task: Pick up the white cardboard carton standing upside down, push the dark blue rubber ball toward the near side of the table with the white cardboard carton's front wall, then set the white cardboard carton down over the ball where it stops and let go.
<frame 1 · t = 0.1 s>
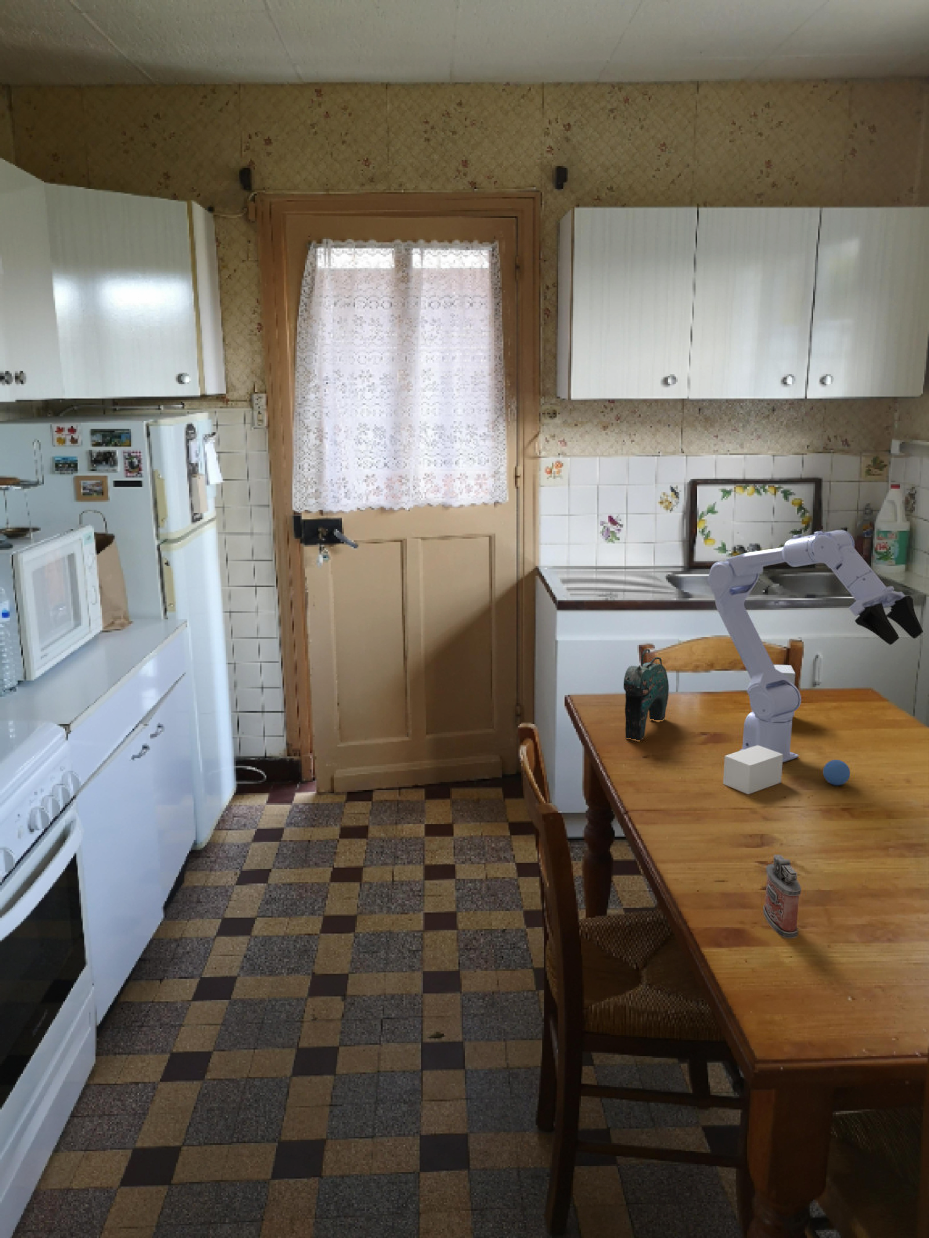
hand: (906, 638, 174), 32 cm above the table, tool tilted 50°, fingers open, 7 cm apart
white cardboard carton: (752, 783, 190), on the table
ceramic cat: (644, 730, 221), on the table
lighter: (779, 924, 141), on the table
ball: (836, 772, 189), on the table
supplement box: (773, 719, 227), on the table
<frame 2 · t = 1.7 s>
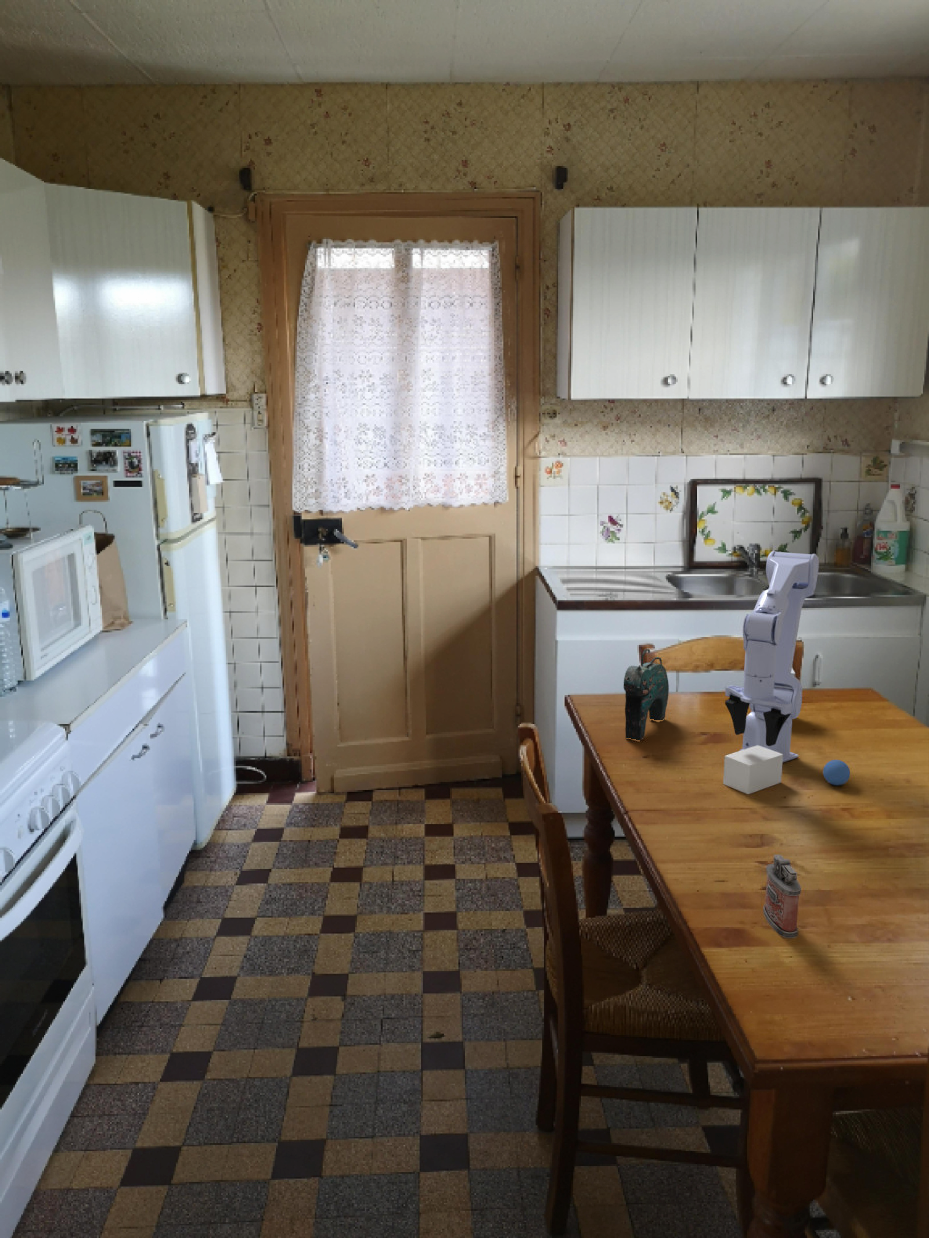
hand: (755, 739, 188), 9 cm above the table, tool pointing down, fingers open, 7 cm apart
nothing on the table moved.
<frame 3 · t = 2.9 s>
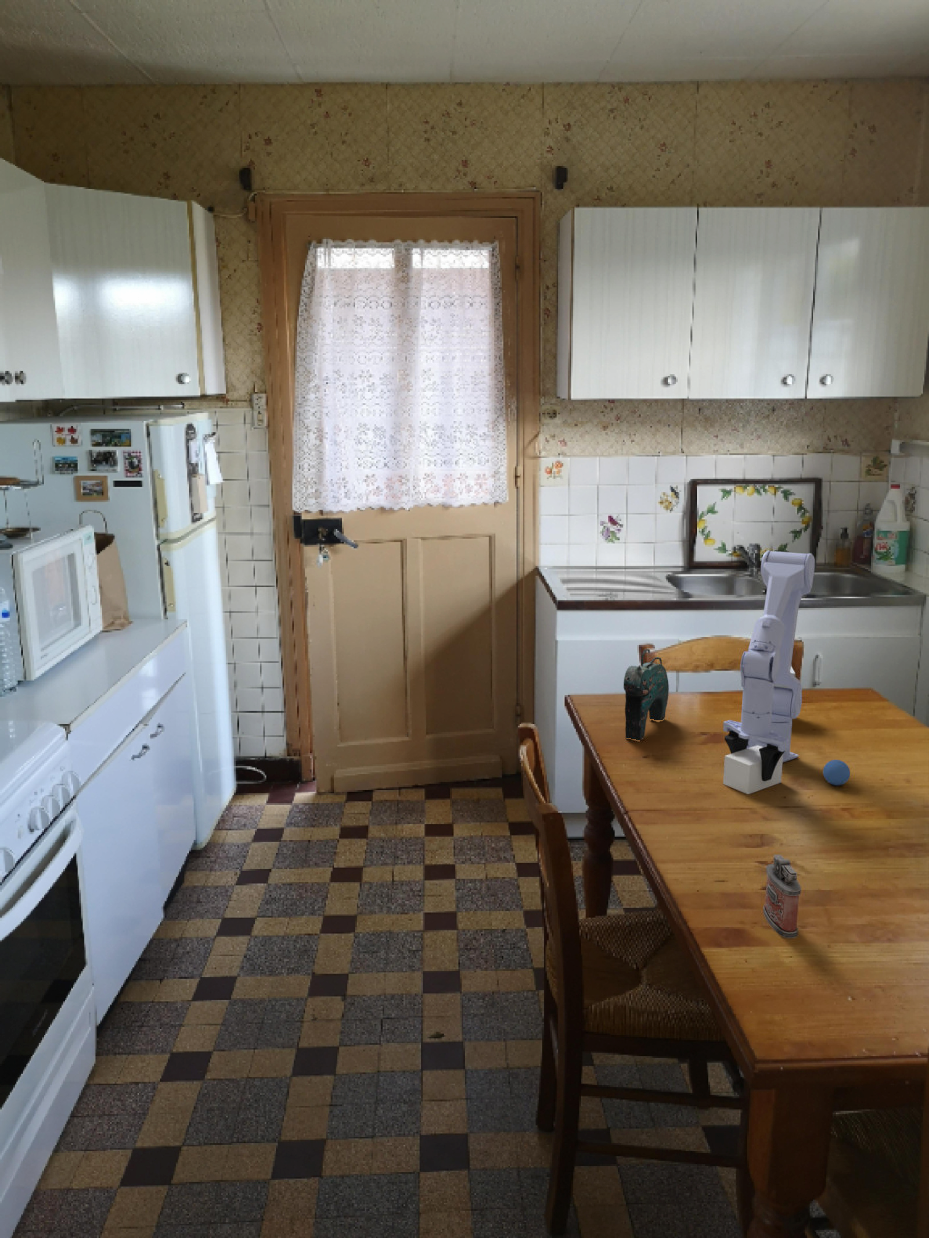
hand: (752, 774, 190), 2 cm above the table, tool pointing down, fingers closed on white cardboard carton, 6 cm apart
white cardboard carton: (752, 783, 190), on the table, touching gripper
everything else where it was.
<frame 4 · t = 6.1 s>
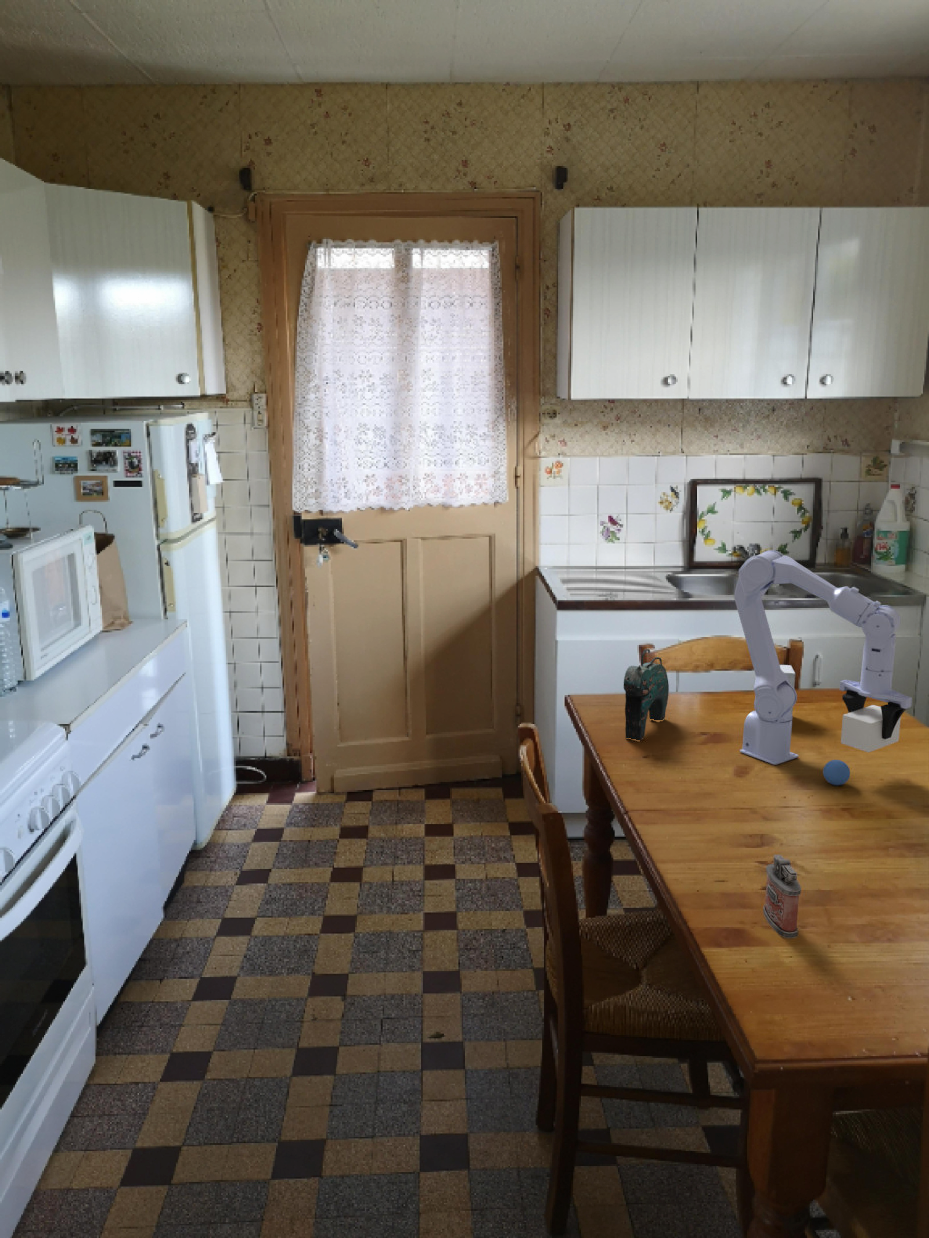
hand: (871, 732, 191), 9 cm above the table, tool pointing down, fingers closed on white cardboard carton, 6 cm apart
white cardboard carton: (869, 742, 191), point 7 cm above the table, touching gripper
everything else where it was.
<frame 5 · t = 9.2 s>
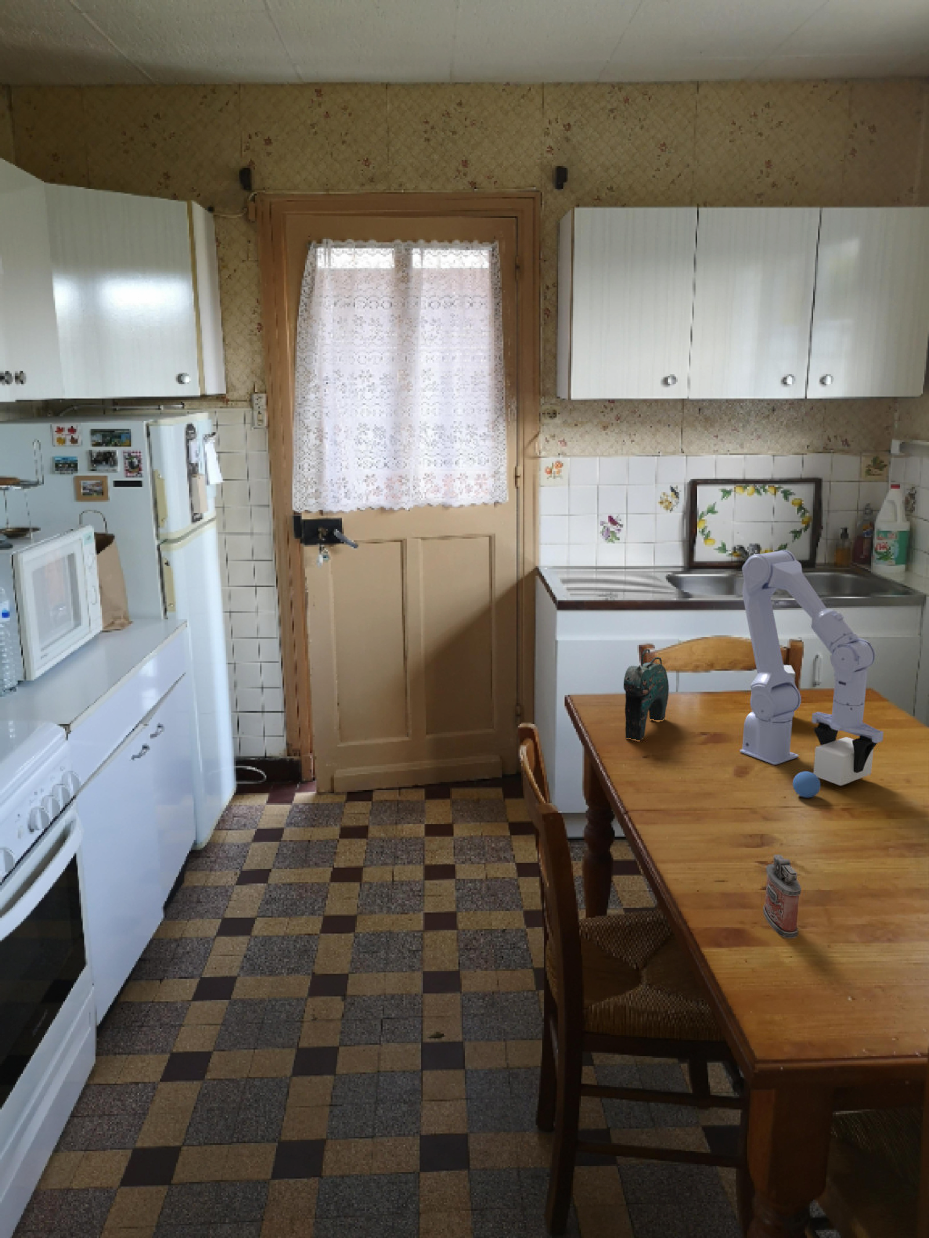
hand: (843, 765, 190), 3 cm above the table, tool pointing down, fingers closed on white cardboard carton, 6 cm apart
white cardboard carton: (842, 774, 190), point 2 cm above the table, touching gripper
ball: (806, 784, 183), on the table
everything else where it was.
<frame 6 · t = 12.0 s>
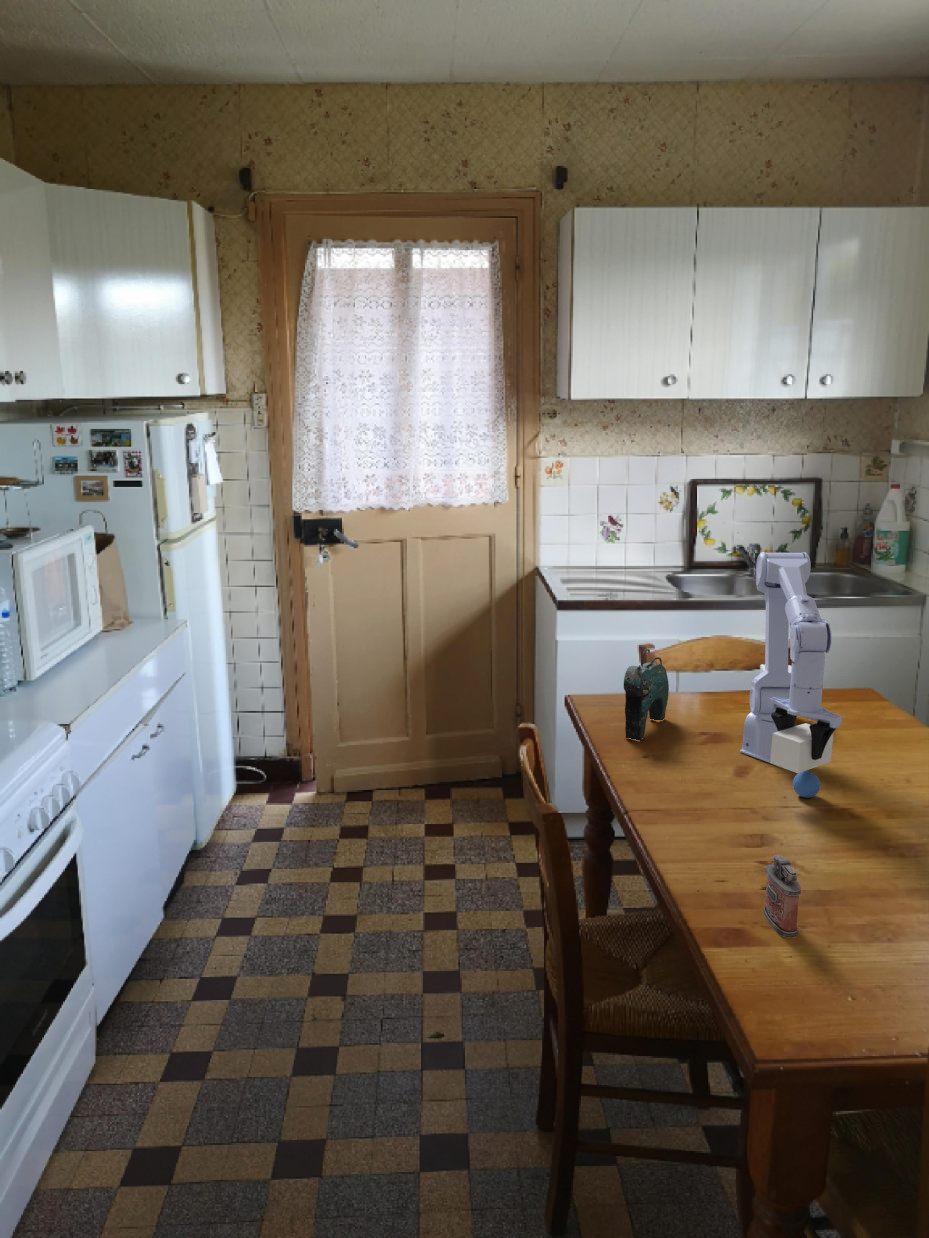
hand: (801, 753, 181), 9 cm above the table, tool pointing down, fingers closed on white cardboard carton, 6 cm apart
white cardboard carton: (800, 762, 181), point 7 cm above the table, touching gripper
everything else where it was.
when the fingers open (2 cm above the table, at t = 14.4 s): white cardboard carton stays where it is, on the table.
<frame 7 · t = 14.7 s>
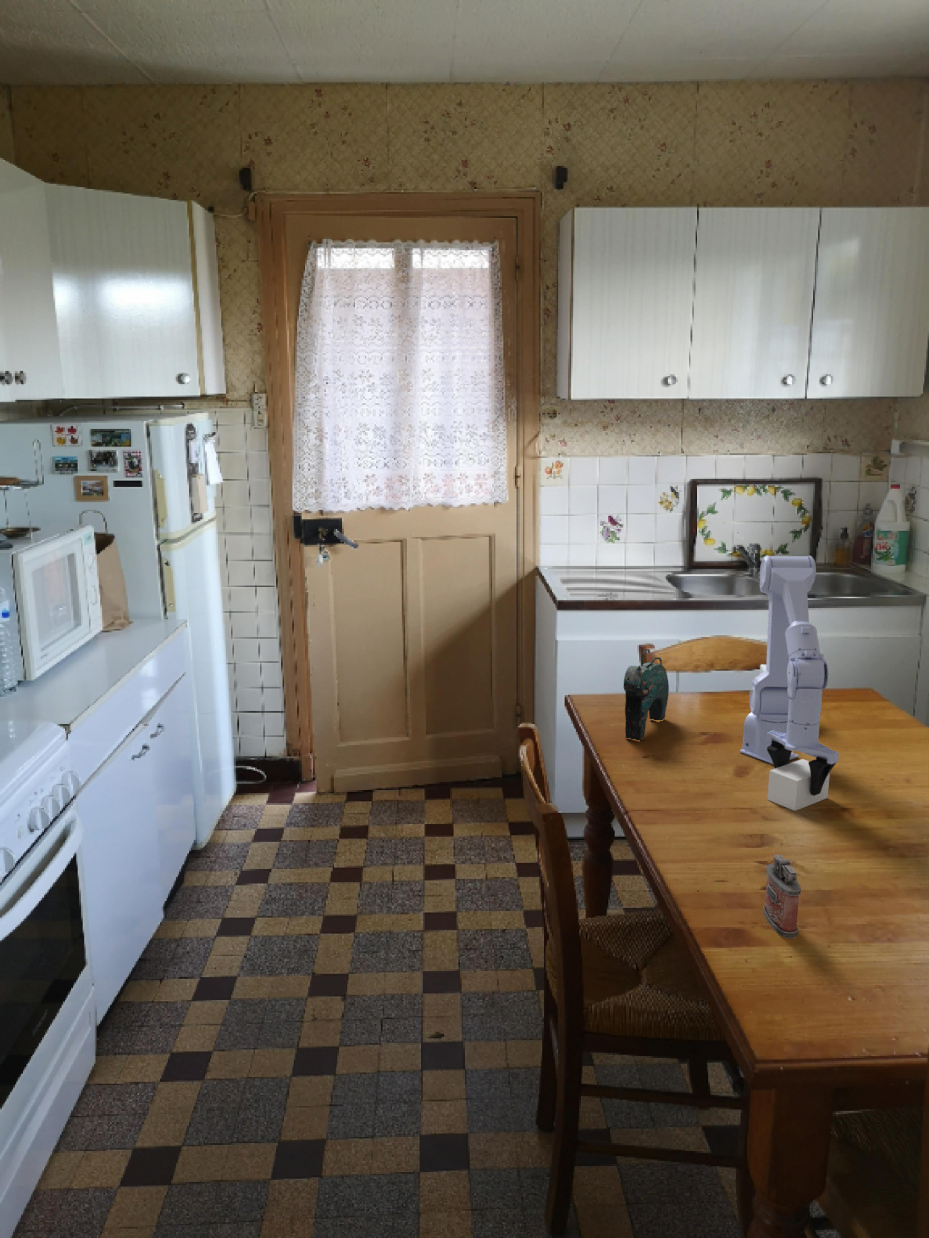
hand: (798, 787, 182), 2 cm above the table, tool pointing down, fingers open, 7 cm apart
white cardboard carton: (797, 798, 183), on the table
everything else where it was.
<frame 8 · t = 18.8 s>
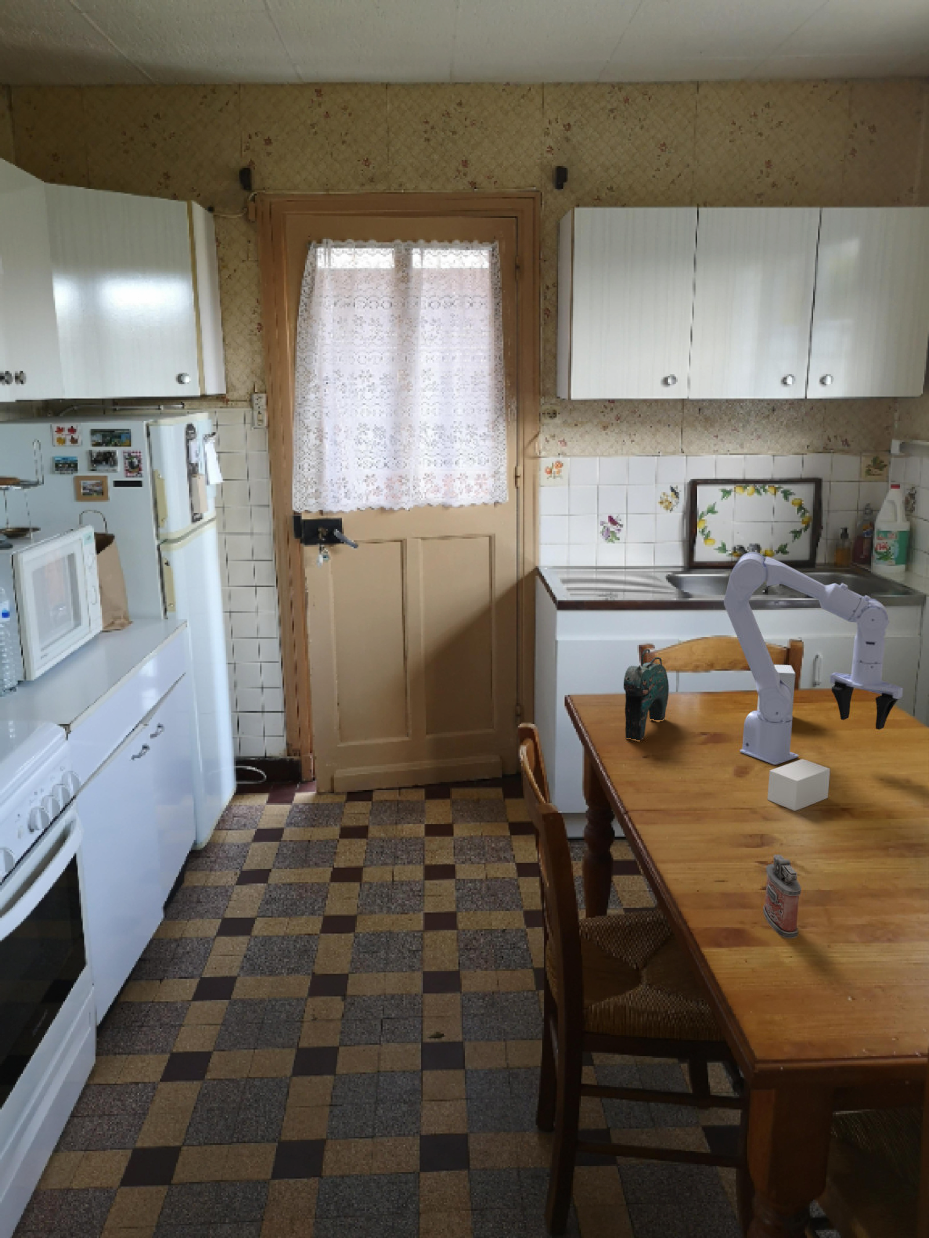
hand: (861, 723, 196), 9 cm above the table, tool pointing down, fingers open, 7 cm apart
nothing on the table moved.
at the end: ball 2.1 cm from the white cardboard carton (horizontally); white cardboard carton on the table; ball moved 9.8 cm from its start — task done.
